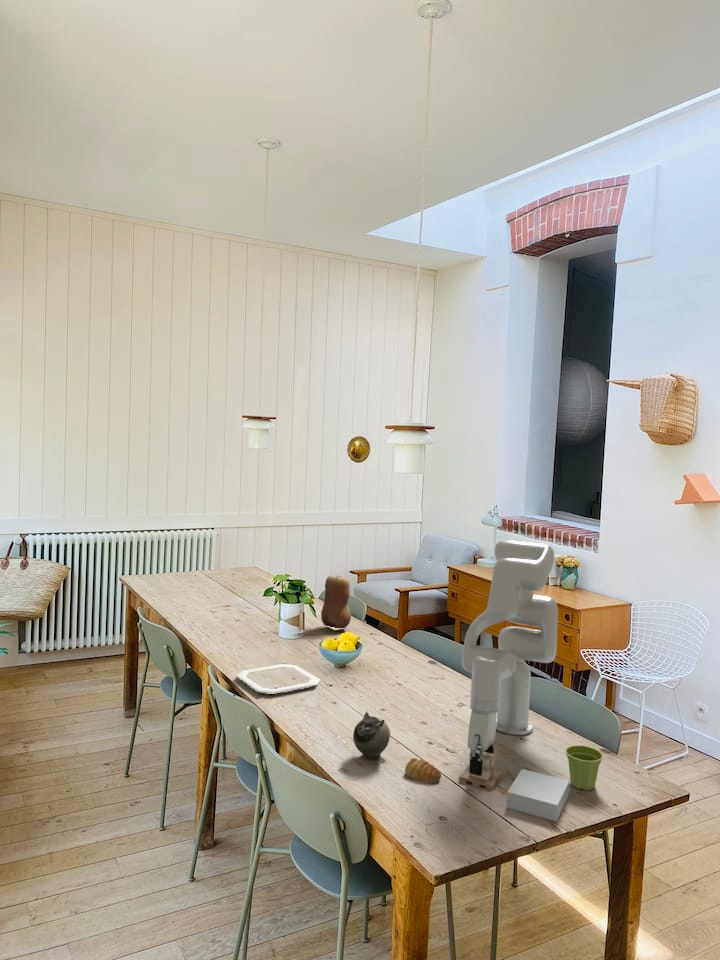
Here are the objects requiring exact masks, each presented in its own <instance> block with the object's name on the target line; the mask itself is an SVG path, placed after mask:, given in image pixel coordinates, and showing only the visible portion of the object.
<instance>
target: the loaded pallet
mask: <svg viewBox="0 0 720 960" xmlns="http://www.w3.org/2000/svg"><path fill="white" fill-rule="evenodd" d="M477 753H478V755H479V753H480V751H477ZM481 760H483V763H482V775H481V776H478V775H474V774H470V773H469V768H470V763H469V764H468V765H467V767H466V768H464V770H463V771H462V773H461V774H460V775H459V777H458V782H459V783H464V784H466V783H467V782H469V783H472V785H471V786H474V787H478V788H479V787H480V786H484V787H485V790H488V791H494V789H495V787H497V785H498V783H499V782H500V781H501V779H502V778H503V775H504V773H503V771H502V770H498V769H495V768H494V763H495V754H494V753H493V754H491V753H487V752H483V755H482V759H481Z"/></svg>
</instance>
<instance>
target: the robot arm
mask: <svg viewBox="0 0 720 960" xmlns="http://www.w3.org/2000/svg"><path fill="white" fill-rule="evenodd" d="M494 555H495V559H496V562H495V564H494V567H493V571H492V578H491V584H490V589H489V595H488V599H487V600H488V601H487V607H486V609H485V610H484V611H483V612H482V613H480V614H479V615H478V616H477V617H476V618H475V619H474V620H473V621H472V622H471V624H470V625H469V626H468V630H467V631H466V634H465V638H464V643H463V649H462V652H461V653H462V655H461V666H462V668H463V669H464V671H466V672H468V673H470V674H471V683H470V699H469V700H470V701H469V703H470V705H469V708H470V710H471V712H470V716H469V717H470V718H469V723H468V724H469V725H468V735H467V748H468V749H469V750H470V753H469V764H470V768H469V773H470V774H474V775H478V776H481V775H482V763H483V760H481V759H482V755H483V752H487V753H491V754H494V749H495V746H494V745H495V740H496V739H495V738H496V732H497V731H498V732H501V733H503V734H508V735H511V736H523V735H528V734H530V733H532V732H533V731H534V725H533V724H532V722H530V721H529V717H530V713H529V712H530V701H531V699H530V698H531V695H530V694H531V682H532V680H531V678H532V677H531V676H532V674H531V670H530V667H529V666H528V664H527V662H526V661H529V662H530V661H531V662H537V663H543V664H549V663H550V664H551V663H552V662H553V661H554V660H555V659H556V655H557V648H558V647H557V645H558V621H559V620H558V619H559V611H558V609H559V608H558V604H557V602H556V599H554V598H552V597H551V596H546V595H539V594H535V592H538V591H542V590H543V588H545V585H546V584H547V582H548V579H549V577H550V574H551V572H552V569H553V566H554V563H555V553H554V549H553V547H552V546H551V545H548V544H545V543H538V542H537V543H536V542H530V541H529V542H527V541H521V540H519V541H518V540H501V541H498V542H497V543H496V544H495V545H494ZM505 621H508V622H510V623H513V624H517V625H522V627H521V626H515V625H514V626H513V625H512V626H506V627H503V628H502V629H501V630H500V631H499V634H498V637H497V639H498V640H497V641H498V648H494V647H490V646H485V645H477V641H478V638H479V636H480V635H481V633H483V631H484V630H485V629H487V628H488V627H490V626H492V625H493V626H494V625H497V624H499V623H503V622H505ZM523 626H528V627H529V626H530V627H535V628H539V629H533V628H528V627H523ZM477 751H480V753H479V755H478V753H477Z"/></svg>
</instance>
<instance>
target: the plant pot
mask: <svg viewBox="0 0 720 960" xmlns="http://www.w3.org/2000/svg"><path fill="white" fill-rule="evenodd" d="M564 751H565V754H566V757H567V760H568V771H569V783H570V785H571V786H572V787H573V788H576V789H578V790H579V789H582V790H583V791H591V790H594V789H595V787H596V783H597V777H598V773H599V767H600V765H601V762H602V760H603V759H604V754H603V752H601V751H600V750H599V749H596V748H594V747H591V746H586V745H579V744H576V745H575V744H574V745H569V746H567V747H566V748H565V750H564Z"/></svg>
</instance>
